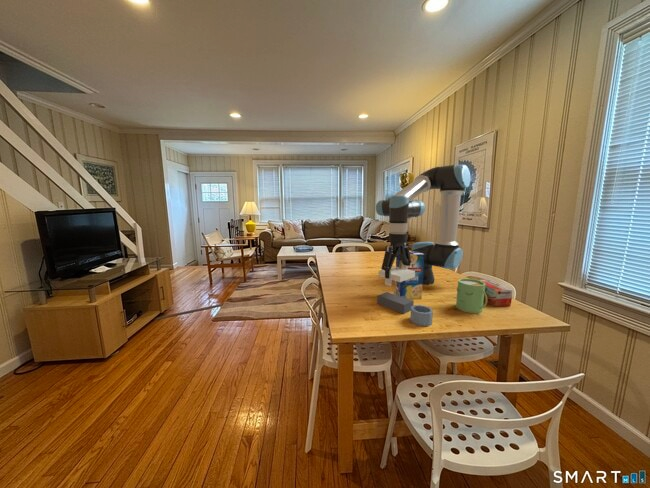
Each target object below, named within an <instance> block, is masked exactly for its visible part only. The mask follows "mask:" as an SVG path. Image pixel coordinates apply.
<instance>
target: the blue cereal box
mask: <svg viewBox="0 0 650 488" xmlns="http://www.w3.org/2000/svg"><path fill="white" fill-rule="evenodd" d="M409 252H410V258H411V263H410V266H408V270H412V271H415V277H413V278H410V279H407V280H405V281H402V282H397V281H394V295H398V296H401V297H404V298H407V299H410V300H422V296H423V285H424V284H423V268H424V254H423V253H420V252H418V251H413V252H412V251H409ZM402 265H404V264H403V263H402V261H401V258H400V256H399V255H397V257H395V267H399V268H401V266H402Z"/></svg>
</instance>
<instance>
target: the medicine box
mask: <svg viewBox="0 0 650 488" xmlns="http://www.w3.org/2000/svg"><path fill="white" fill-rule="evenodd" d="M478 280H479V281H482V282H484V283H485V291H484V292H485V293H486V296H487V304H488V305H490V306H492V307H510V306H511V305H512V299H513V289H512V288H509V287H507V286H504V285H502V284H499V283H496V282H494V281H491V280H489V279H478ZM485 301H486V299H485V295H484V300H483V303H485Z"/></svg>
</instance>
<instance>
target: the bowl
mask: <svg viewBox="0 0 650 488" xmlns="http://www.w3.org/2000/svg"><path fill="white" fill-rule="evenodd" d="M433 310H434V309H433V308H431V307H429V306H426V305H422V304H415V305H414V304H413V306H411V311H410V317H409V320H410V322H411V323H412V324H414V325H415V326H420V327H429V326H431V325H432V324H433V315H434V311H433Z"/></svg>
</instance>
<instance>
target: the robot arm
mask: <svg viewBox="0 0 650 488" xmlns="http://www.w3.org/2000/svg"><path fill="white" fill-rule="evenodd" d="M471 179H472V177H471V171H470V169H469V167H468V166H467V165H466V164H452V165H444V166H435V167H432V168H430V169H428V170H426V171H423V172H422V173H420V174H419V175H418V176H416V177H415V178H414V180H413V181H412V182H411V183H410V184H408V185H406V186H405V187H404V188H402V189H401V190H399V191H398V192H396V193H395V194H393V195H392V196H390V197H389V198H387V199H382V200H378V202H377V203H376V205H375V211H376V214H377V215H378V216H382V217H388V219H389V221H388V232H389V233H388V241H389V243H390V246H385V247H384V248H385V249H384V251H385V252H384V255H383V260H382V264H381V269H380V270H385V278H384V285H385V286H388V287H392V283H393V282H392V281H393V280H392V271H390V270H391V268H392V267H393V264H394V262H395V261H396V257H397V255H399V256H400V258H401V261H402V263H403V264H404V265H402V266H401V268H404V269H408V266H410V263H411V258H410V252H413V251H418V252H420V253H423V254H424V268H423V284H422V285H431V284H435V275H434V271H433V267H438V268H441V269H447V270H455V269H457V268H458V267H459V265H460V264H461V262H462V260H463V256H464V253H463V249H462V248H460V244H459V243H458V242H457V238H458V227H459V226H458V225H459V217H460V205H461V200H462V199H461V197H462V194H464V193H465V190H466V189H467V188H469V187H470V184H471ZM430 190H439V192H440V194H441V195H442V198H441V200H442V201H441V209H440V220H439V222H440V223H439V232H438V233H439V234H438V239H437V240H436V241H435V242H433V241H418V242H413V244H412V245H411V251H410V243H408V233H407V232H408V226H409V225H408V220H409V219H408V218H418V217H421V216H422V215H423V214H424V213H425V210H426V206H425V203H424V202H423V201H422V200H419V199H416V198H417V197H419V196H420V195H421V194H423V193H426V192H428V191H430Z"/></svg>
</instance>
